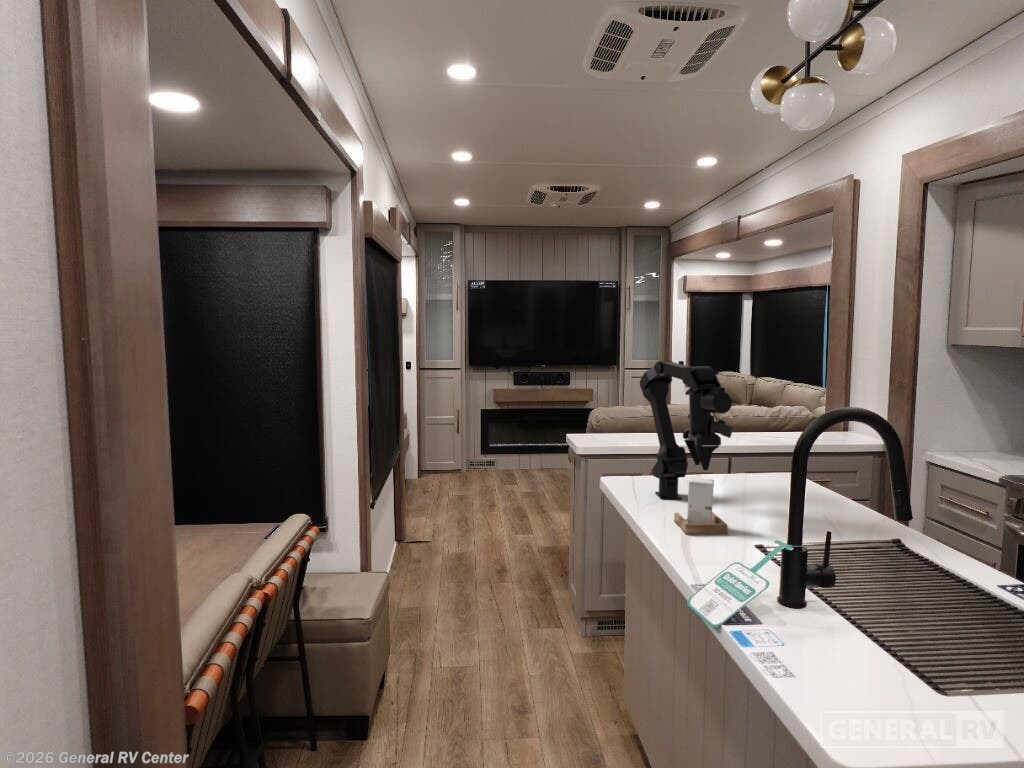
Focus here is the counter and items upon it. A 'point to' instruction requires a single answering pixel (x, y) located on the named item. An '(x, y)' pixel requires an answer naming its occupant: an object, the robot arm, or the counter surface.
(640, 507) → the counter surface
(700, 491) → the skincare box
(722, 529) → the tray
